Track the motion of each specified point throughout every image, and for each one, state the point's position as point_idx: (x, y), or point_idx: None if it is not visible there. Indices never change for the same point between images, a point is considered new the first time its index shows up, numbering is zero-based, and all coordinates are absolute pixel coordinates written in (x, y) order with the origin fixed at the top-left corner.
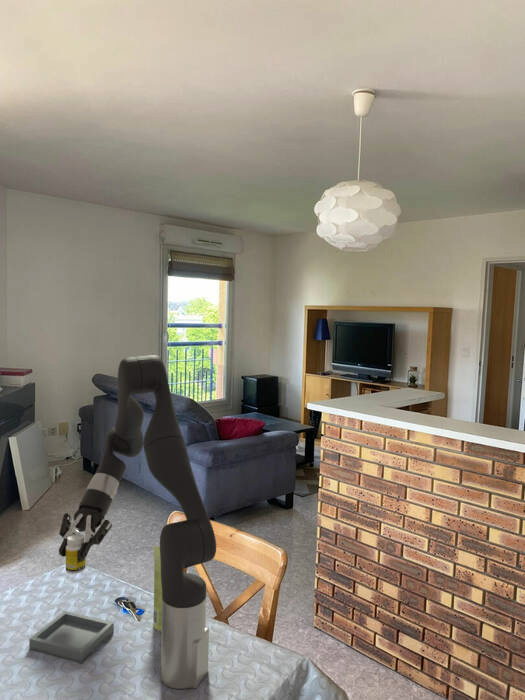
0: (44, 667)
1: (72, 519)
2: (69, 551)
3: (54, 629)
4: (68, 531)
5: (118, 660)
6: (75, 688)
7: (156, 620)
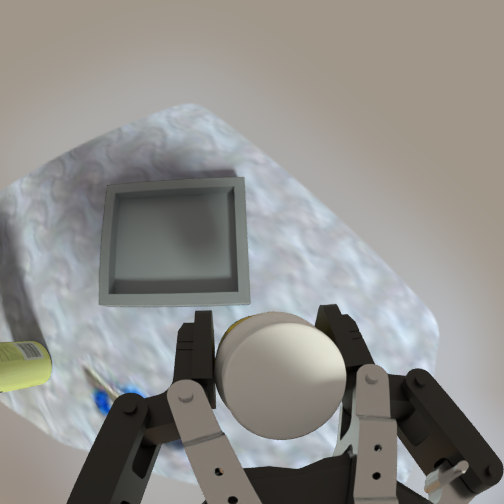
0: (175, 160)
1: (435, 492)
2: (271, 312)
3: (235, 252)
4: (384, 406)
5: (60, 231)
6: (97, 147)
7: (27, 343)
